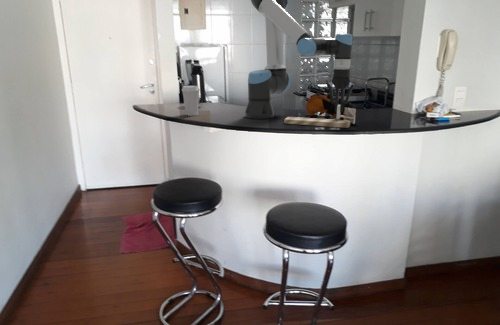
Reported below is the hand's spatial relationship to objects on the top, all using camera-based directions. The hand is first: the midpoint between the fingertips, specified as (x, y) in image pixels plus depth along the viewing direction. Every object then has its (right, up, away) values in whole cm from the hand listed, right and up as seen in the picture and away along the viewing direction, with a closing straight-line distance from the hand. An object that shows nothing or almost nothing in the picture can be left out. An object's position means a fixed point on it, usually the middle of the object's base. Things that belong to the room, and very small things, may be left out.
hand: (338, 118), depth 187 cm
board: (-11, -3, -5) cm, 13 cm away
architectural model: (+4, -3, -2) cm, 6 cm away
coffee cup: (-74, +4, +20) cm, 77 cm away
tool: (-1, +3, +15) cm, 16 cm away
